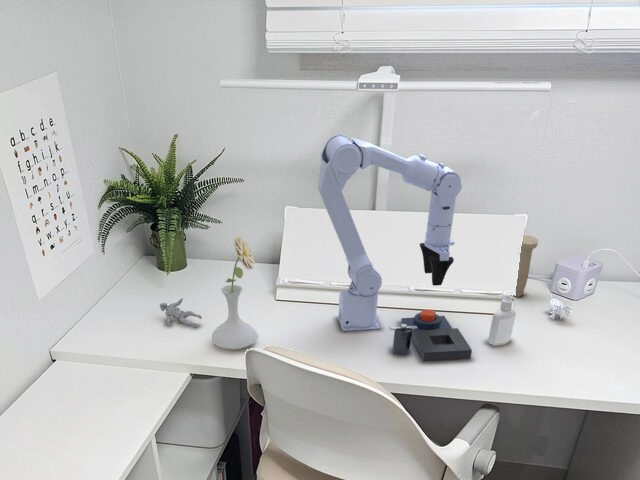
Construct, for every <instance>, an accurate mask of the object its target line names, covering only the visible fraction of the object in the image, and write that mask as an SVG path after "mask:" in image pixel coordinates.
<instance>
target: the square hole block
mask: <svg viewBox="0 0 640 480" xmlns="http://www.w3.org/2000/svg"><path fill="white" fill-rule="evenodd" d="M411 343H413V346H414V347H415V349H416V351H417V353H418V355H419V357H420V359H421V362H422V363H428V362H429V363H431V362H448V361H462V360H471V359H472V358H471V357H472V352H473V349H472V348H471V346H470V345H469V343H468V341H467V340H466V339H465V337H464V336H463V334H462V332H461V331H460V330H459V328H458V327H457V328H455V327H454V328H453V327H452V329H436V330H418V331H412V337H411Z"/></svg>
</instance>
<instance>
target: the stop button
mask: <svg viewBox="0 0 640 480" xmlns="http://www.w3.org/2000/svg"><path fill="white" fill-rule="evenodd" d="M420 313H421V316H420V319H421V320H422V321H426V322H432V321H434V320H435V315H436V314H437V313H436V311H435V310H432V309H423V310H421V311H420Z"/></svg>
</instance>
